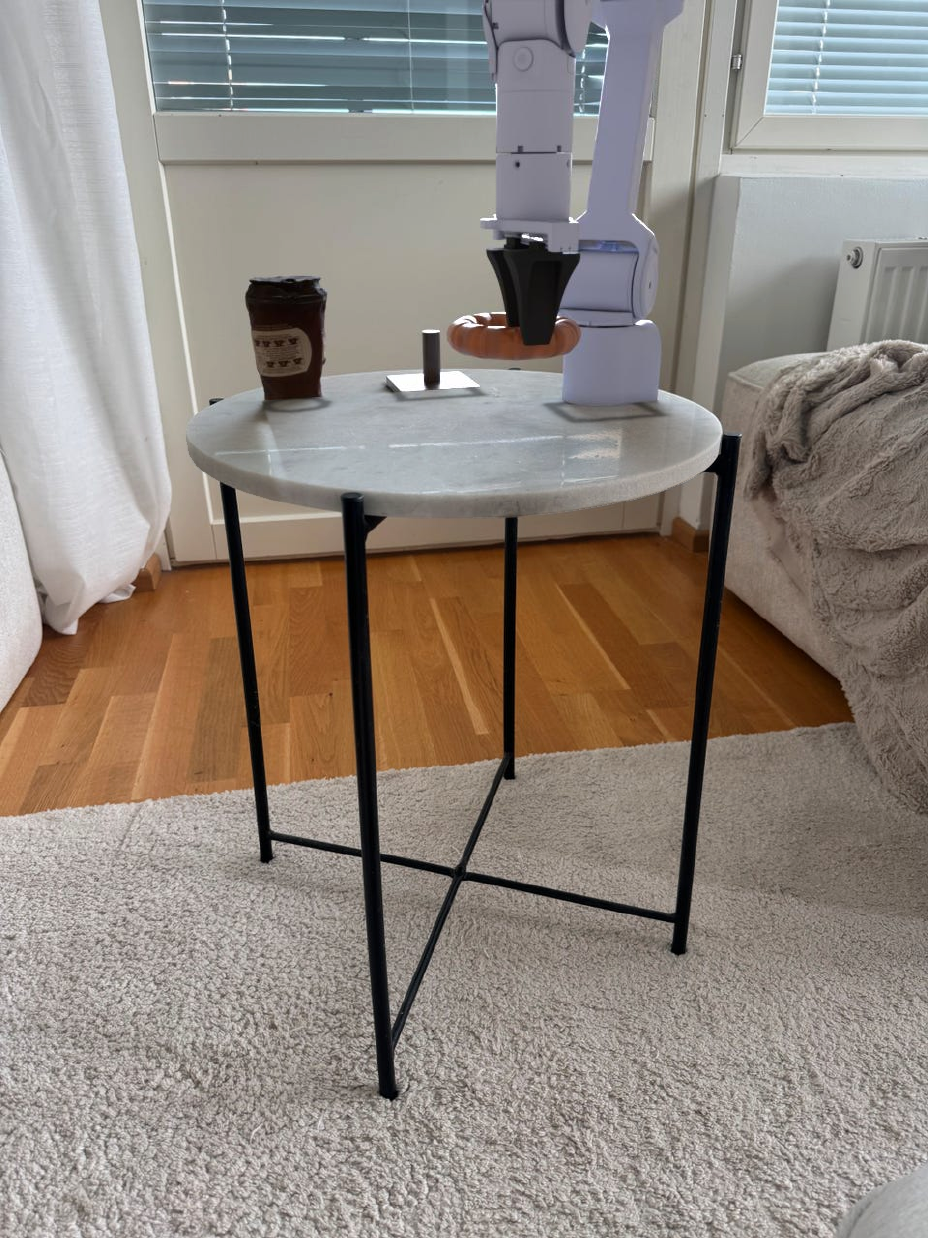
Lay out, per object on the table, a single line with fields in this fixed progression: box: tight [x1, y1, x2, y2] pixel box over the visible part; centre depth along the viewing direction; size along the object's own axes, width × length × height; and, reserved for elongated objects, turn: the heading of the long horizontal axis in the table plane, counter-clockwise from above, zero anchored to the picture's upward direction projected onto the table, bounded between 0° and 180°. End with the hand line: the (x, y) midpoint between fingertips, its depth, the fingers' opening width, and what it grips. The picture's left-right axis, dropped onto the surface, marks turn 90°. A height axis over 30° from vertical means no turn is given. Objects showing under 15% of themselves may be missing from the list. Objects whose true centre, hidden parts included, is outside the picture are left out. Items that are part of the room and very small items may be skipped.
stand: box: [385, 329, 481, 393], centre depth 104 cm, size 9×9×6 cm
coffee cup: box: [244, 275, 328, 402], centre depth 96 cm, size 9×8×13 cm
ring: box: [445, 311, 581, 362], centre depth 78 cm, size 11×11×3 cm
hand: (529, 341), depth 74 cm, fingers closed on ring, 3 cm apart
